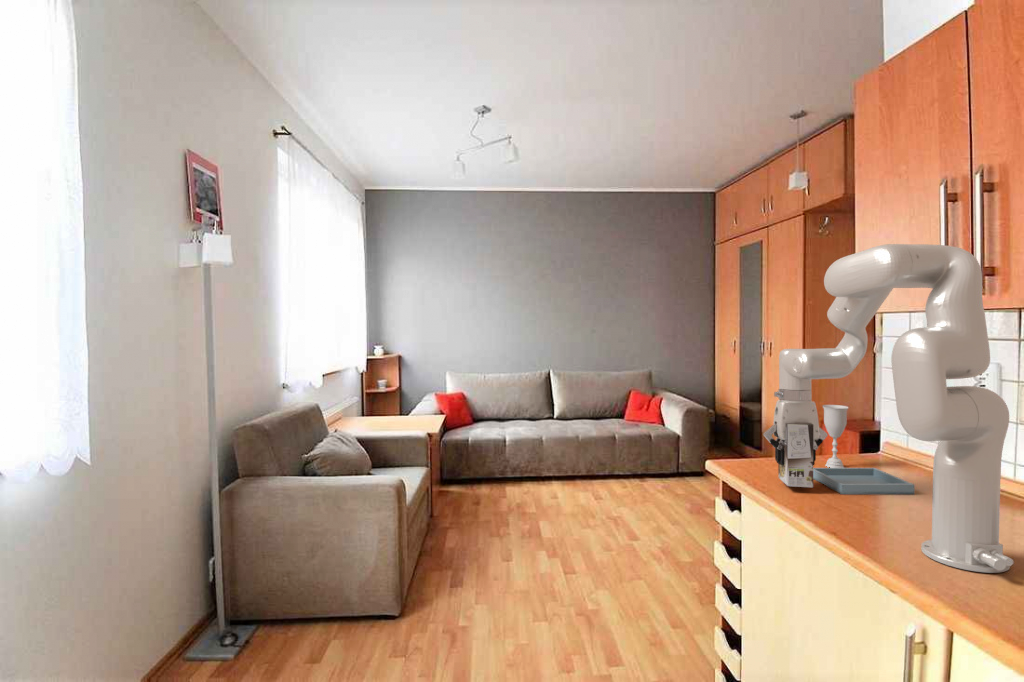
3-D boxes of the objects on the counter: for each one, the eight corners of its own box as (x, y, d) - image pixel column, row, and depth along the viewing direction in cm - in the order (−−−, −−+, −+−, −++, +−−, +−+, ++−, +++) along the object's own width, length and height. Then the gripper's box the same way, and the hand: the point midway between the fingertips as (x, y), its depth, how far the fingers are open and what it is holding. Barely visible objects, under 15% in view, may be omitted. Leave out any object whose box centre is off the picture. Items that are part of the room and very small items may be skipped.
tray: (914, 494, 140) (914, 484, 139) (841, 494, 140) (841, 484, 140) (874, 476, 156) (874, 467, 155) (809, 476, 156) (809, 467, 156)
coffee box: (814, 488, 140) (814, 424, 140) (787, 486, 142) (786, 423, 142) (803, 478, 149) (803, 418, 149) (777, 477, 151) (777, 418, 150)
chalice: (852, 470, 162) (853, 408, 162) (826, 469, 164) (827, 408, 163) (842, 463, 170) (842, 405, 169) (817, 462, 171) (818, 404, 170)
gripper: (767, 398, 142) (767, 467, 142) (837, 397, 141) (837, 467, 142) (755, 394, 149) (755, 460, 150) (821, 394, 149) (821, 460, 149)
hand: (795, 463), depth 146 cm, fingers closed on coffee box, 7 cm apart
